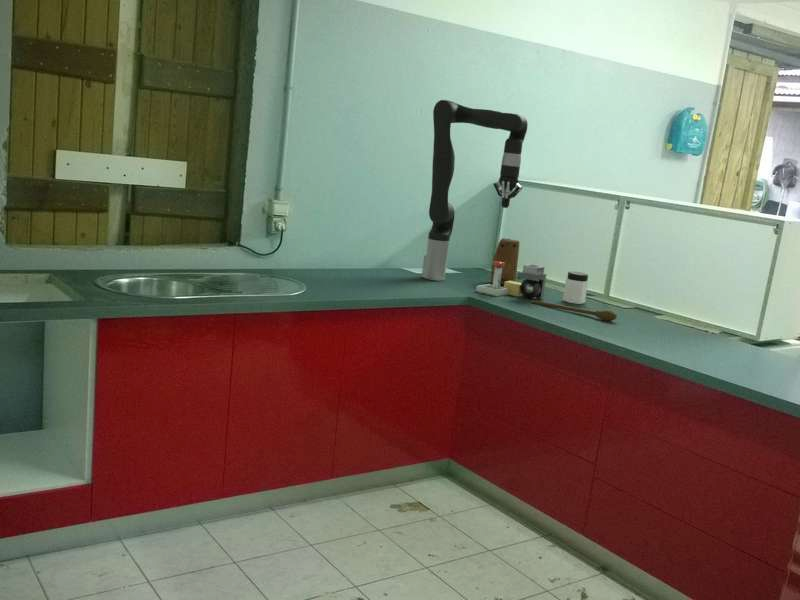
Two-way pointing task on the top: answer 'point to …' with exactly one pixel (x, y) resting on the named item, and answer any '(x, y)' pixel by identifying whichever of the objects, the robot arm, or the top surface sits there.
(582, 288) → the jar
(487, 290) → the tray
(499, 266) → the pin
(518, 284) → the block
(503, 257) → the block
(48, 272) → the top surface
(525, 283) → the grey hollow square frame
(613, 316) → the brown wooden spoon
